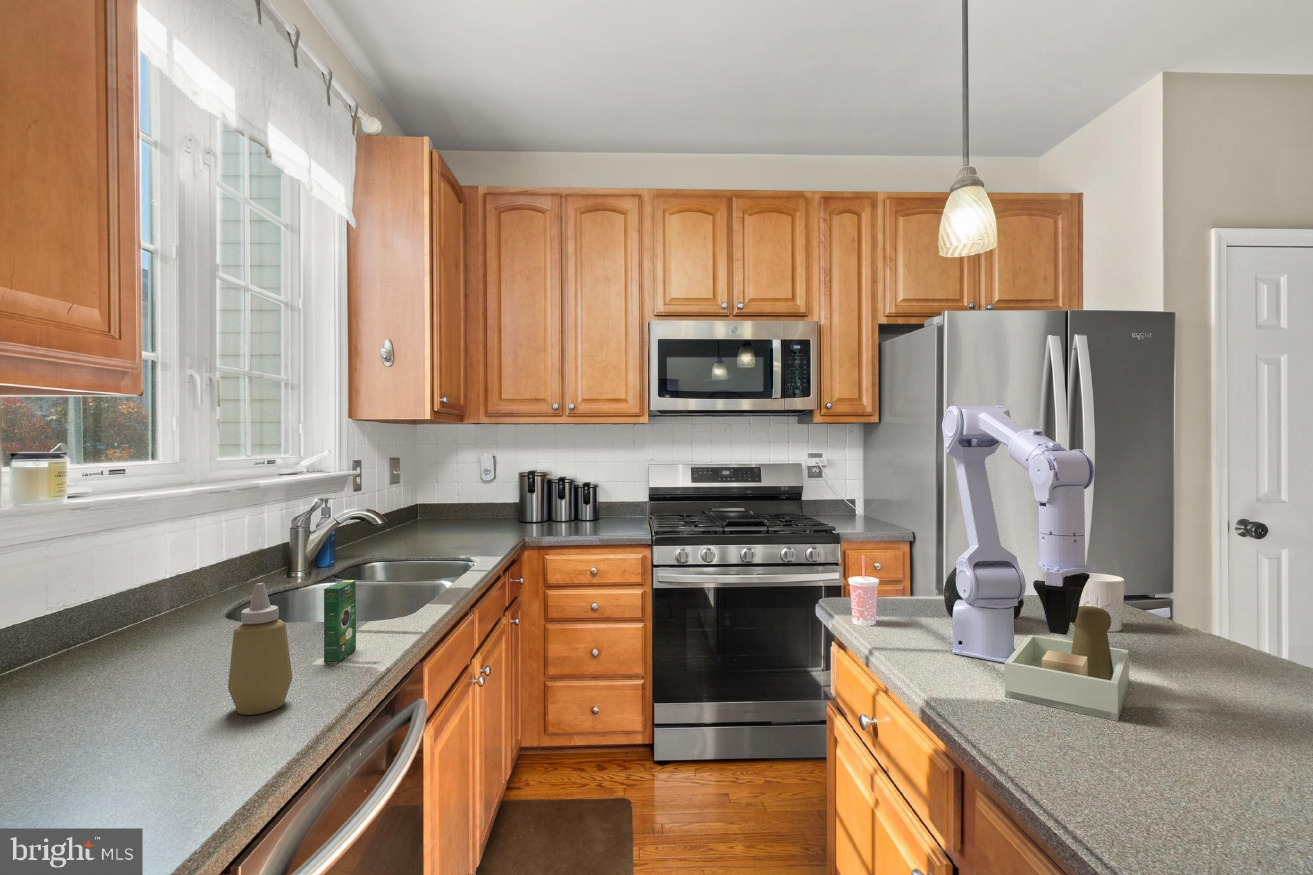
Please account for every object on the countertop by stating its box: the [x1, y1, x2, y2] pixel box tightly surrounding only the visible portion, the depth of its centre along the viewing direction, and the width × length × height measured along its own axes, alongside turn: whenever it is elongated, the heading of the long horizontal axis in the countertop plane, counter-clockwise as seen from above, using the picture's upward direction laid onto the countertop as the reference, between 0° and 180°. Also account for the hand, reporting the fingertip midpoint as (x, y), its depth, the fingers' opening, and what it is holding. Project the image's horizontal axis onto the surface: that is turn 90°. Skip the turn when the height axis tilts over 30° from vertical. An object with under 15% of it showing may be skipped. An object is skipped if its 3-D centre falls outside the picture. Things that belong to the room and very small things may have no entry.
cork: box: [1071, 606, 1114, 681], centre depth 100 cm, size 6×6×11 cm
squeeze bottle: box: [227, 582, 293, 715], centre depth 96 cm, size 8×8×18 cm
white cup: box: [1079, 572, 1125, 633], centre depth 131 cm, size 8×8×10 cm
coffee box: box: [323, 579, 357, 664], centre depth 119 cm, size 8×3×13 cm, turn 4°
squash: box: [943, 564, 1025, 621], centre depth 135 cm, size 14×15×15 cm
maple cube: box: [1042, 650, 1088, 676], centre depth 95 cm, size 5×5×5 cm
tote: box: [1004, 634, 1130, 722], centre depth 99 cm, size 14×18×5 cm
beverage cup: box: [847, 554, 880, 627], centre depth 136 cm, size 6×6×14 cm
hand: (1062, 627), depth 96 cm, fingers open, 7 cm apart
